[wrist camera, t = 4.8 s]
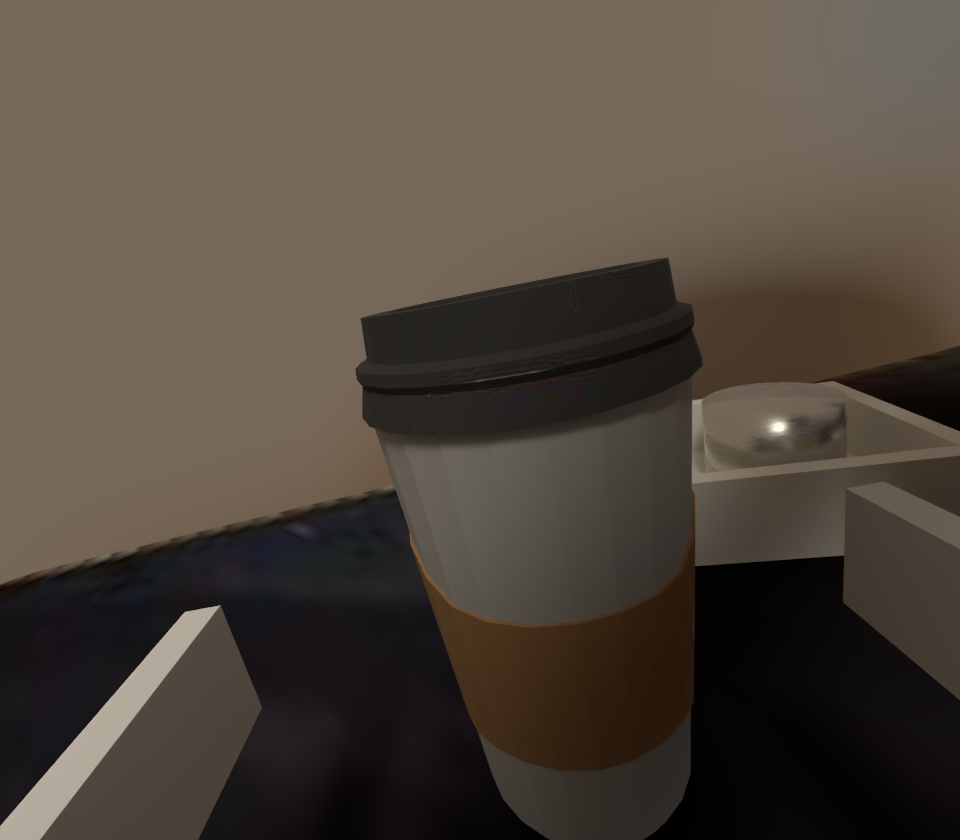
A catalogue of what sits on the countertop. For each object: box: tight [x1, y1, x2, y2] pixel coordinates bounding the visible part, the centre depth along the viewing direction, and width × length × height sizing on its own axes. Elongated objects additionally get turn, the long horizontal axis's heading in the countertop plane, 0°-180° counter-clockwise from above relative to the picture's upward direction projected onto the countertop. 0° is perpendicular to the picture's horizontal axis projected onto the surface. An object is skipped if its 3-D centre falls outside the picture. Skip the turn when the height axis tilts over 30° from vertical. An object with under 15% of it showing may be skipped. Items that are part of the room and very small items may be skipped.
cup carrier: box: [692, 381, 960, 566], centre depth 29 cm, size 25×13×4 cm, turn 82°
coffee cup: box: [356, 258, 703, 840], centre depth 14 cm, size 8×8×15 cm
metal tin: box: [702, 382, 848, 473], centre depth 27 cm, size 7×7×5 cm
